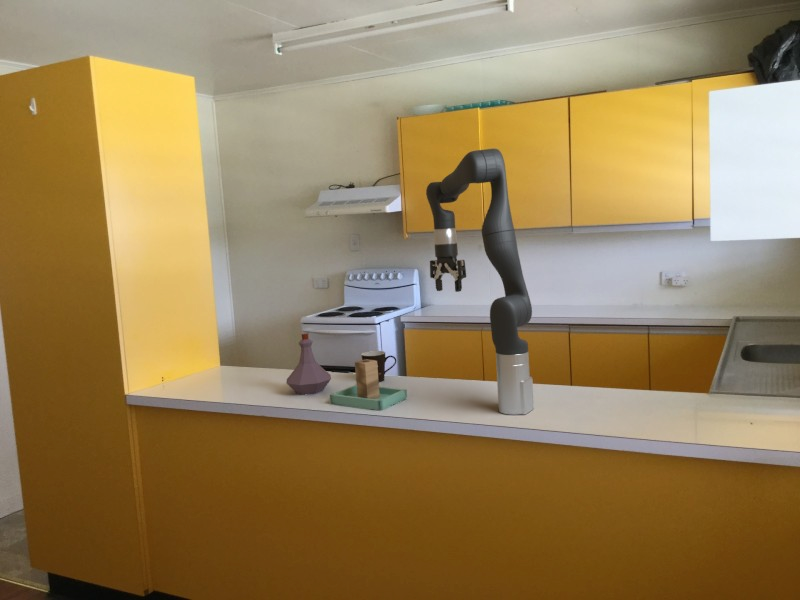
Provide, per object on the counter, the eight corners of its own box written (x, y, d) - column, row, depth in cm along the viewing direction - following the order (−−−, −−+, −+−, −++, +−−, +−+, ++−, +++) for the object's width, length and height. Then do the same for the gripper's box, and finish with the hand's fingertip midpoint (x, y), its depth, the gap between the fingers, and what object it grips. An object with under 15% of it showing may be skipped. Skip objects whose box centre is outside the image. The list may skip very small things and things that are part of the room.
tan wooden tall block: (379, 397, 215) (377, 360, 213) (367, 401, 211) (364, 363, 210) (369, 395, 218) (366, 358, 217) (357, 399, 215) (354, 362, 214)
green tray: (407, 398, 215) (406, 389, 215) (380, 410, 204) (380, 401, 203) (357, 392, 226) (357, 384, 226) (330, 403, 215) (329, 394, 215)
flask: (340, 384, 239) (335, 329, 237) (323, 397, 224) (318, 338, 221) (297, 385, 244) (292, 330, 241) (278, 397, 228) (272, 339, 225)
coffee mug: (358, 383, 240) (356, 355, 239) (371, 377, 248) (368, 350, 246) (387, 384, 235) (385, 356, 233) (398, 378, 242) (397, 351, 241)
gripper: (422, 244, 226) (425, 292, 228) (453, 242, 216) (457, 293, 218) (438, 242, 231) (441, 289, 233) (469, 241, 221) (472, 290, 223)
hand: (448, 291), depth 225 cm, fingers open, 8 cm apart
